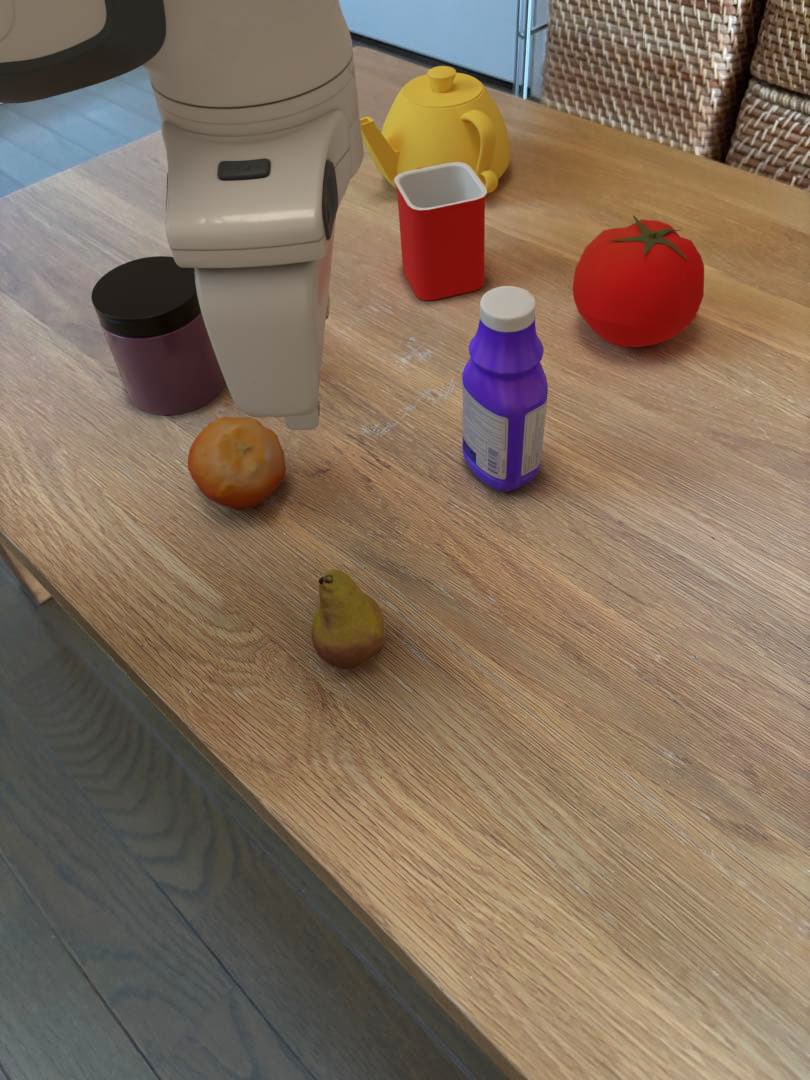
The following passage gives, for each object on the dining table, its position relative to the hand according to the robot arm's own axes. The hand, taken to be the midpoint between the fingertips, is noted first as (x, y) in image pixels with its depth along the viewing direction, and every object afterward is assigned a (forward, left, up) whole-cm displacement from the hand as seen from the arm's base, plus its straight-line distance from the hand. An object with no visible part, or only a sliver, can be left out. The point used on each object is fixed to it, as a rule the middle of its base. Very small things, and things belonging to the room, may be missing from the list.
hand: (310, 364), depth 50 cm
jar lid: (-18, +28, -13) cm, 36 cm away
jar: (-18, +28, -23) cm, 41 cm away
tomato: (+28, +32, -23) cm, 49 cm away
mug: (+9, +45, -23) cm, 52 cm away
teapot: (+10, +64, -23) cm, 69 cm away
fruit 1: (-10, +12, -23) cm, 28 cm away
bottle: (+13, +13, -23) cm, 30 cm away
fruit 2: (0, -5, -23) cm, 24 cm away
